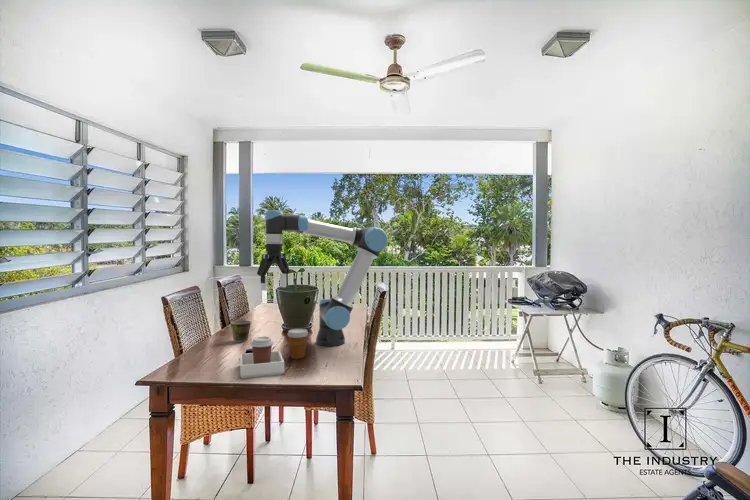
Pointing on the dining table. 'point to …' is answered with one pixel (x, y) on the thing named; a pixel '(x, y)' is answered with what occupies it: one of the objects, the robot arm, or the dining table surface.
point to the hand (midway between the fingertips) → (274, 288)
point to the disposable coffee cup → (297, 342)
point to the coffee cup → (262, 349)
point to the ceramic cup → (240, 330)
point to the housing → (261, 366)
